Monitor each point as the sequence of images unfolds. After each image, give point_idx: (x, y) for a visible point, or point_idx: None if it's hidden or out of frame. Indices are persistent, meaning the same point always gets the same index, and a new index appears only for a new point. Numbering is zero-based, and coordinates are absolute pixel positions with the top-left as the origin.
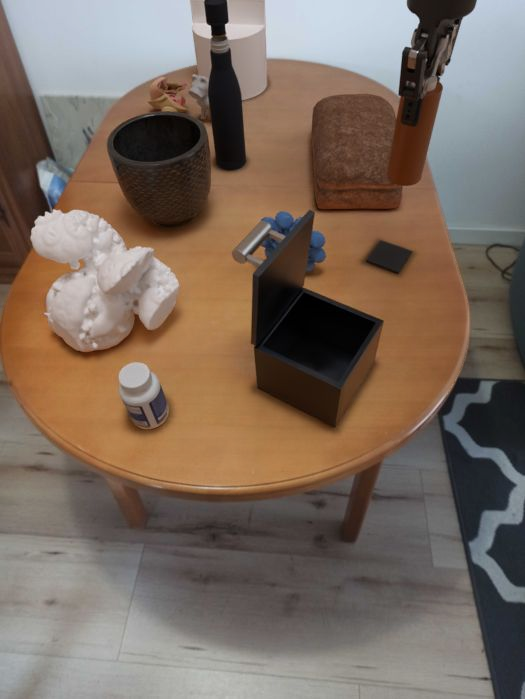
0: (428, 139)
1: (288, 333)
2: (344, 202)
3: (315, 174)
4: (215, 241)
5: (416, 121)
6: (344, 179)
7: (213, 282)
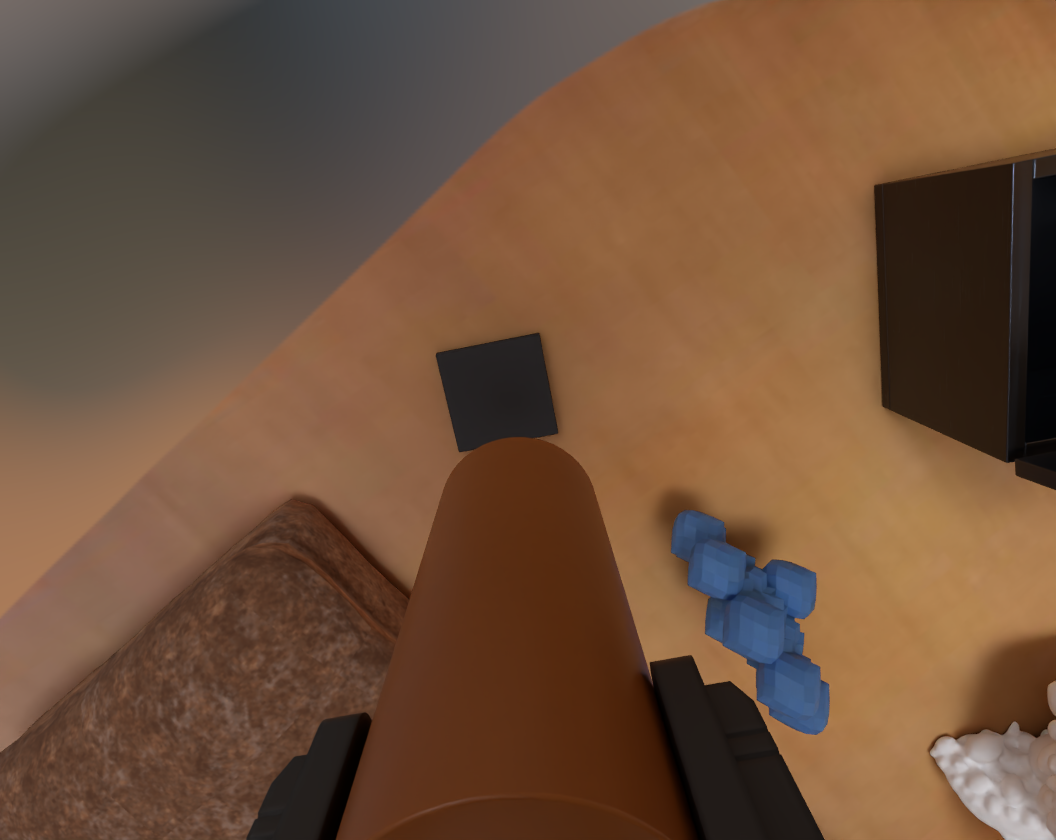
0: (521, 533)
1: (1034, 398)
2: None
3: None
4: None
5: (699, 679)
6: None
7: (864, 664)
